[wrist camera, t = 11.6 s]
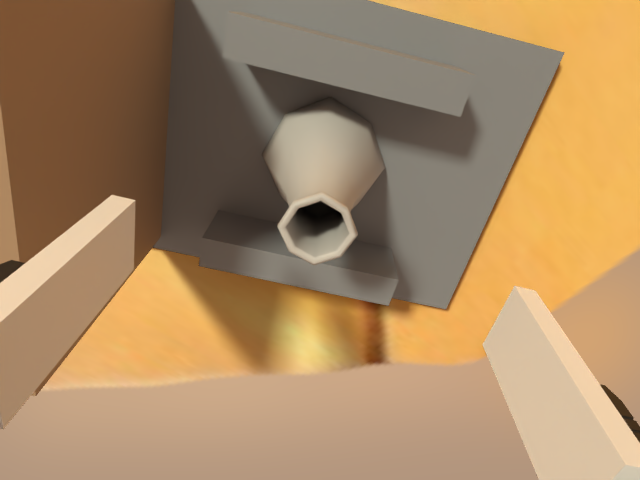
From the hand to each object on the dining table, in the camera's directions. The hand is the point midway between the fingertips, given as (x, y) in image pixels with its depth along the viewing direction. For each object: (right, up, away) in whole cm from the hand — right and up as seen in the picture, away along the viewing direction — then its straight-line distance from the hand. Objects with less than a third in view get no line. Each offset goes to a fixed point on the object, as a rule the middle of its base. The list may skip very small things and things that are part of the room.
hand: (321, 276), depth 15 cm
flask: (0, +6, +12) cm, 14 cm away
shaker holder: (0, +7, +13) cm, 15 cm away
